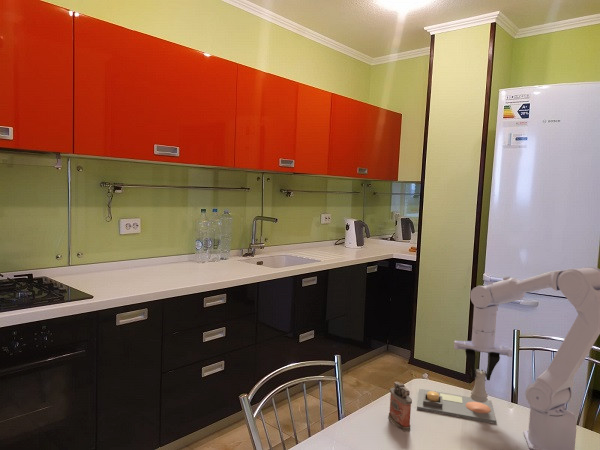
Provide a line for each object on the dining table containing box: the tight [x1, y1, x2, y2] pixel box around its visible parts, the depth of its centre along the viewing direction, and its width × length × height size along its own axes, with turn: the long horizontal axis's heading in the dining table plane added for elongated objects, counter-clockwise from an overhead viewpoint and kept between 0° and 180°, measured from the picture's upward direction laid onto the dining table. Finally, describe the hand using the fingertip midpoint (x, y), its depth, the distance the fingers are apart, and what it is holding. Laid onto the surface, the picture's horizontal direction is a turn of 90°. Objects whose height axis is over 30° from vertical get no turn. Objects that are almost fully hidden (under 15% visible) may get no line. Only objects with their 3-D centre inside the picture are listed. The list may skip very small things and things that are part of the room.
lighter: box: [388, 381, 413, 432], centre depth 112 cm, size 8×3×10 cm, turn 17°
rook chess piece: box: [470, 368, 489, 403], centre depth 120 cm, size 4×4×8 cm
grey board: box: [416, 388, 497, 425], centre depth 123 cm, size 20×12×2 cm, turn 72°
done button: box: [427, 390, 439, 402], centre depth 122 cm, size 3×3×2 cm
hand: (480, 377), depth 120 cm, fingers closed on rook chess piece, 3 cm apart
